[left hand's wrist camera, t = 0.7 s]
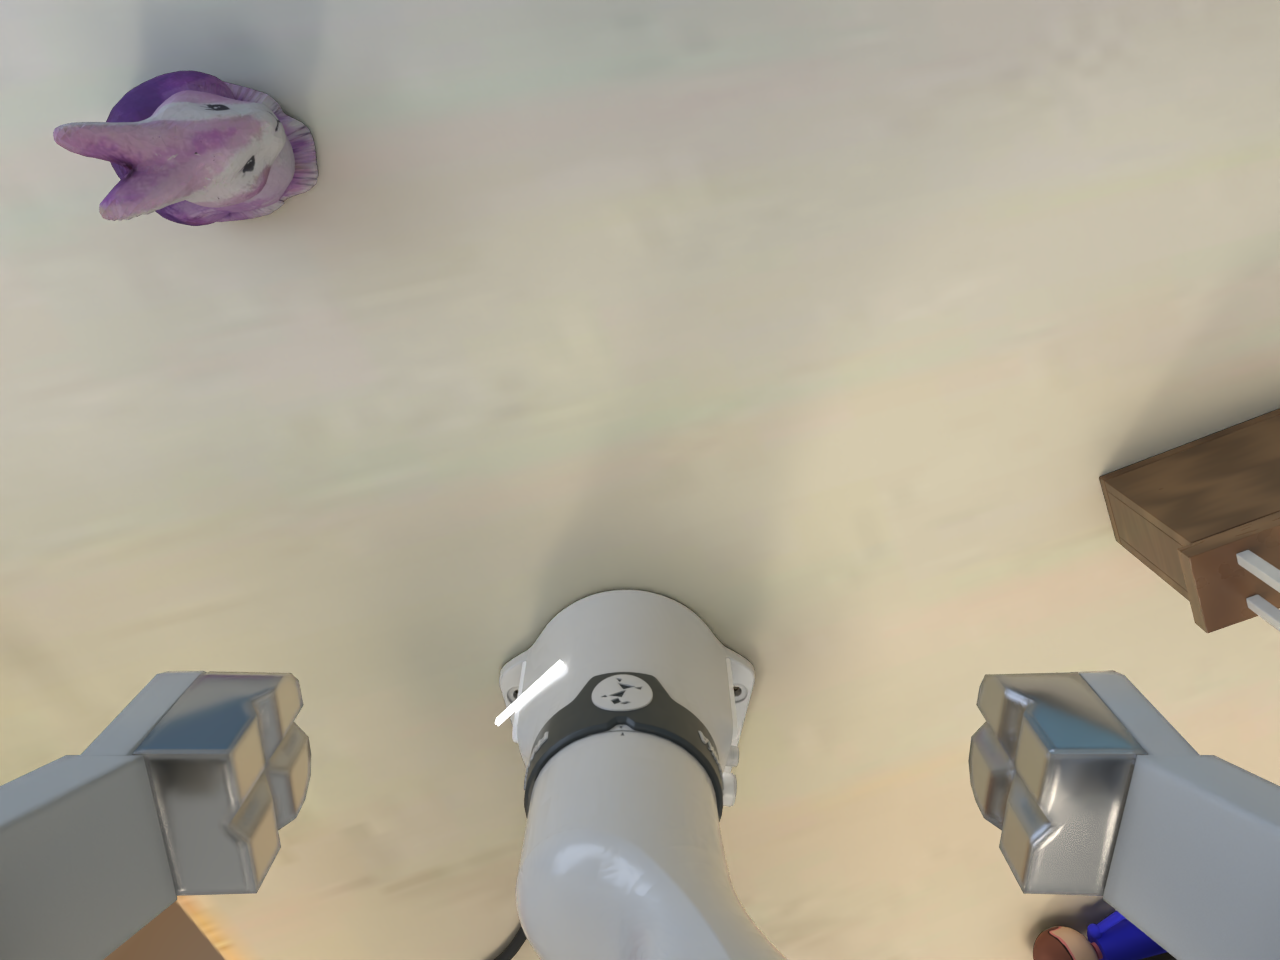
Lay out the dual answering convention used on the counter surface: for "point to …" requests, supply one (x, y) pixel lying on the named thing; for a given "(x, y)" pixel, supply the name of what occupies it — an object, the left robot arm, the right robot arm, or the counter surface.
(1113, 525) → the chest
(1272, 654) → the counter surface
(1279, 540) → the door
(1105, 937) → the figurine character
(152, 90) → the figurine
